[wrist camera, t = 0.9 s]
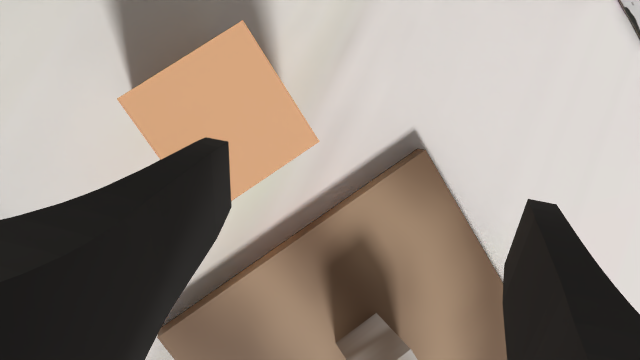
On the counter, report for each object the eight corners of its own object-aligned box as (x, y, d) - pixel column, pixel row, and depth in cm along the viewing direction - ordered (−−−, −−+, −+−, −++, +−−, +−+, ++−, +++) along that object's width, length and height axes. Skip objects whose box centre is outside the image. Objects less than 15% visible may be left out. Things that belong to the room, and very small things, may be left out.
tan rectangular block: (199, 194, 26) (203, 219, 20) (135, 102, 25) (116, 98, 19) (288, 135, 27) (319, 141, 21) (229, 43, 26) (242, 20, 19)
